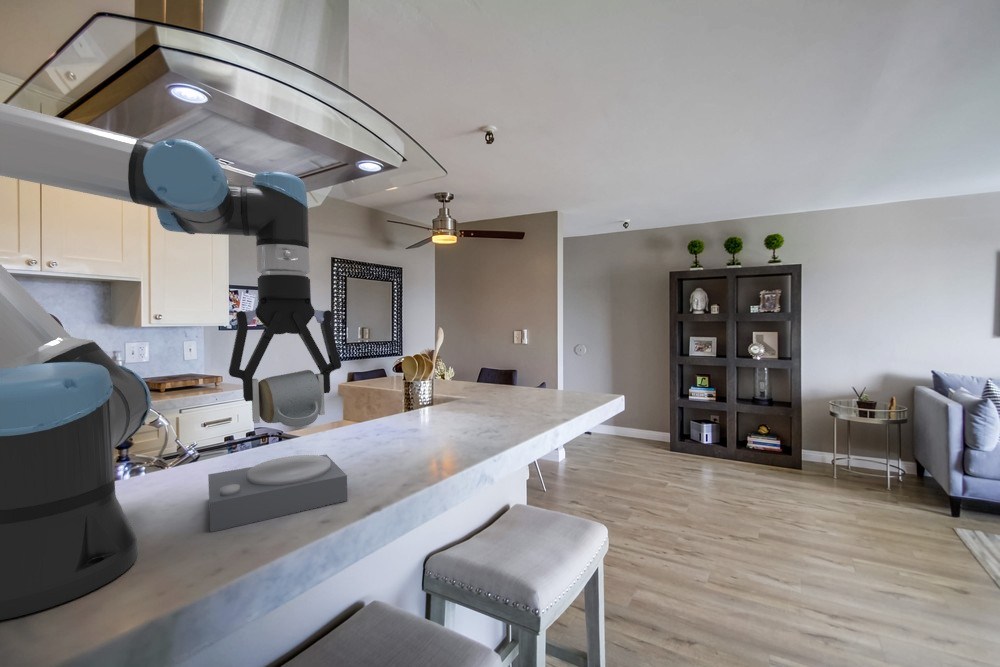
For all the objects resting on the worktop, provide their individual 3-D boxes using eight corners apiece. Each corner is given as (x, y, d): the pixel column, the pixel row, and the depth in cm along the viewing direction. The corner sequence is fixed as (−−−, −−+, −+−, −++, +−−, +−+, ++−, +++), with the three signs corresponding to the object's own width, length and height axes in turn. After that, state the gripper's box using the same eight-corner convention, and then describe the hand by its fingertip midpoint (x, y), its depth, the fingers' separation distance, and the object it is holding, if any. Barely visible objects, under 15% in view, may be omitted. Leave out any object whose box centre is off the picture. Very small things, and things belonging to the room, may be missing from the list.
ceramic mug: (254, 421, 72) (251, 373, 72) (306, 412, 78) (304, 368, 78) (277, 433, 65) (274, 379, 64) (332, 422, 70) (330, 373, 70)
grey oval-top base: (210, 532, 61) (209, 495, 60) (209, 498, 73) (208, 467, 72) (347, 500, 71) (346, 469, 70) (326, 475, 82) (325, 448, 82)
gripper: (203, 269, 63) (210, 432, 63) (359, 275, 74) (363, 412, 75) (203, 275, 69) (209, 422, 69) (347, 279, 81) (351, 405, 81)
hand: (289, 417), depth 72 cm, fingers closed on ceramic mug, 9 cm apart
